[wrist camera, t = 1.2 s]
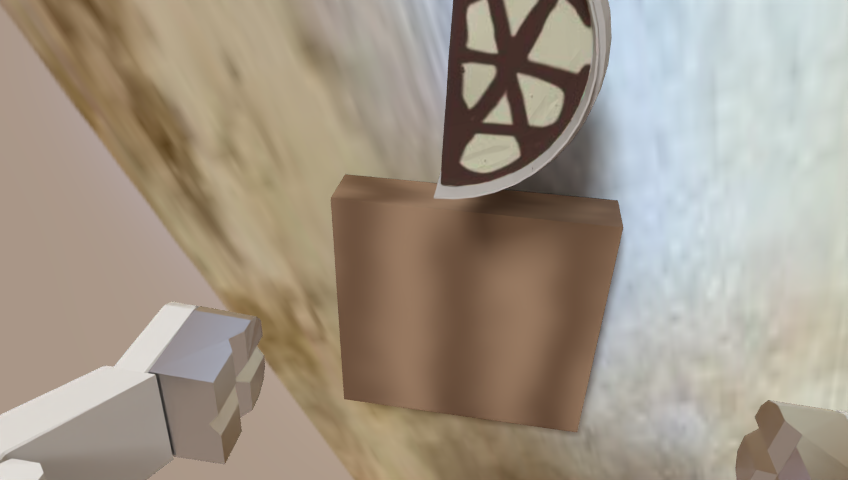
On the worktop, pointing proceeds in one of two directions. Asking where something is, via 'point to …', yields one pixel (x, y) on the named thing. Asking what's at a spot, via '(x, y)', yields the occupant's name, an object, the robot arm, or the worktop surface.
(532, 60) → the food container
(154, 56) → the worktop surface
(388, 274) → the walnut base
